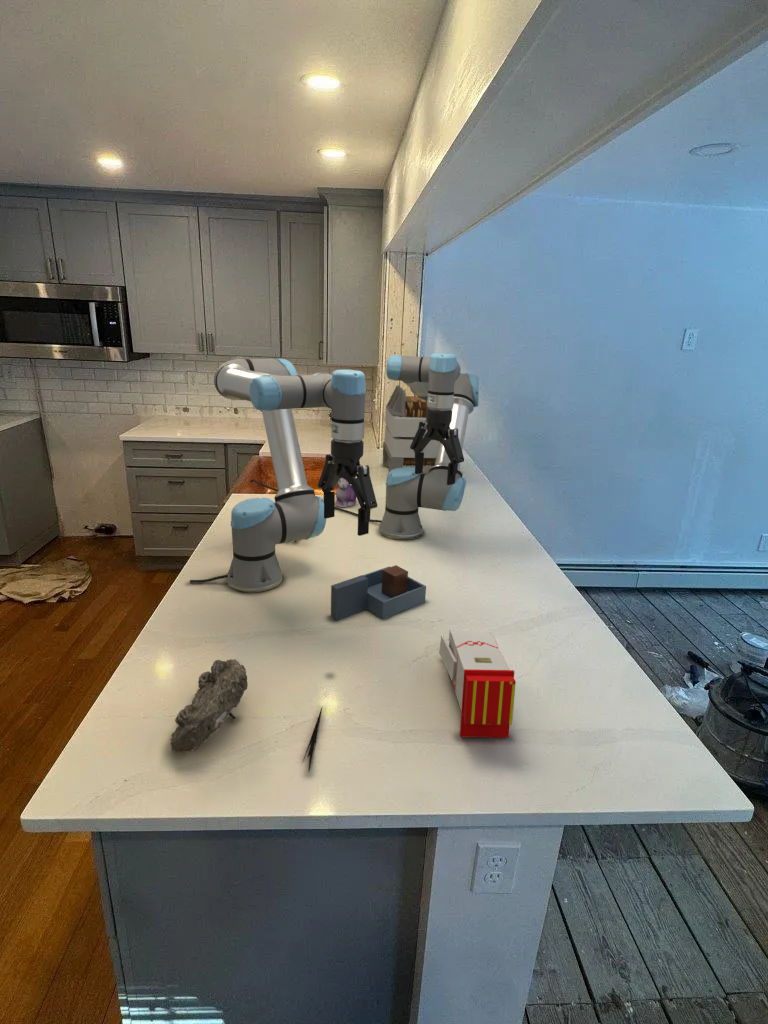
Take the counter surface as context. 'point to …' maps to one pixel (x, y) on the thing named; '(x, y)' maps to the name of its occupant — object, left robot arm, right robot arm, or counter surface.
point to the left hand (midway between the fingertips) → (345, 525)
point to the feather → (313, 740)
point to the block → (394, 581)
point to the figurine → (345, 494)
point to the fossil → (210, 704)
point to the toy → (479, 682)
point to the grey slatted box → (405, 431)
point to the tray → (372, 596)
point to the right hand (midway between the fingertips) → (434, 478)
